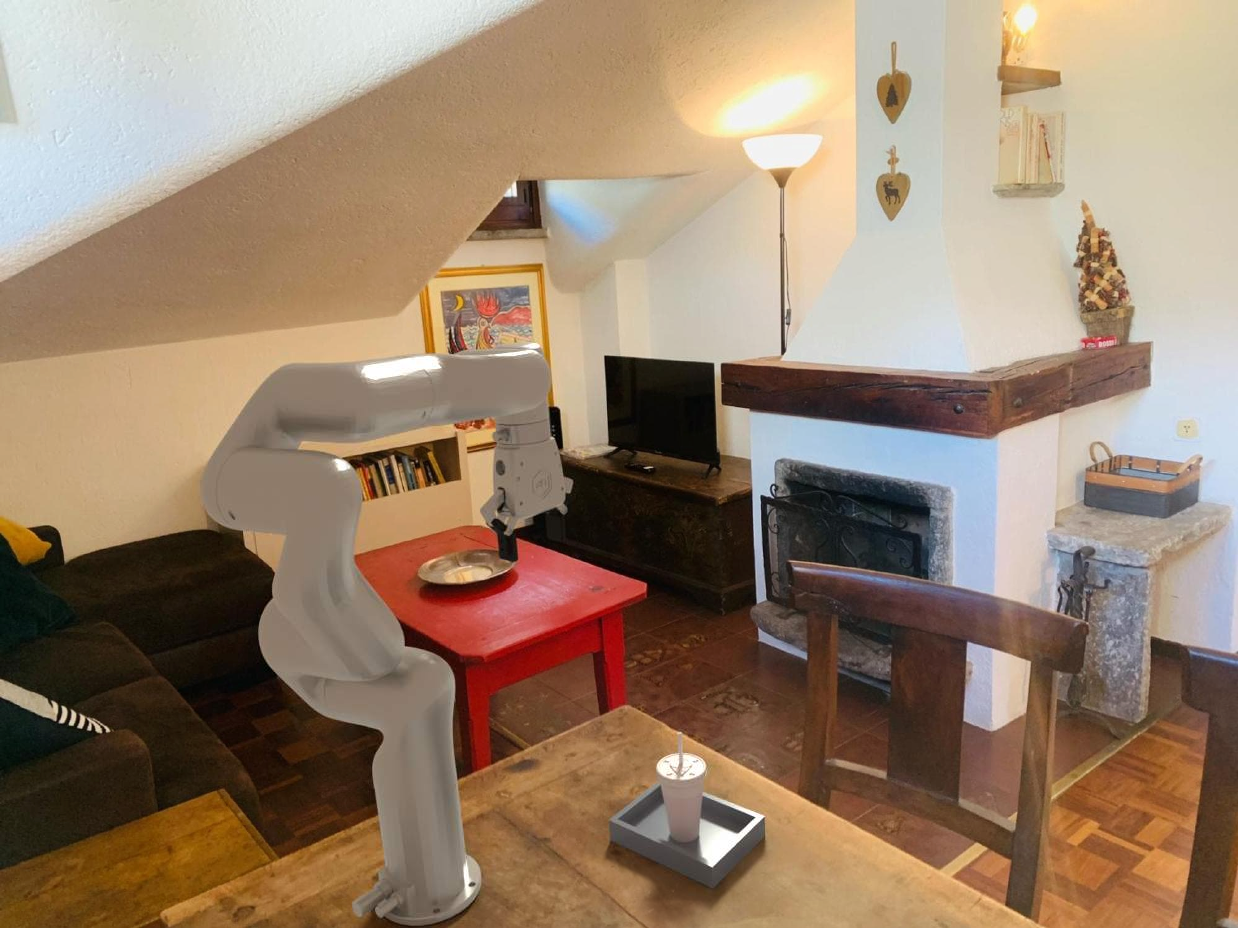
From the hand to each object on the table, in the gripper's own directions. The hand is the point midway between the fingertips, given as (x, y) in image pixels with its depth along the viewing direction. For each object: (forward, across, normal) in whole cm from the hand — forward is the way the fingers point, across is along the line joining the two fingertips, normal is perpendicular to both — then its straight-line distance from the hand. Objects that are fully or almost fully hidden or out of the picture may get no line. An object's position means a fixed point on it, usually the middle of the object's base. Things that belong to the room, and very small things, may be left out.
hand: (533, 549), depth 133 cm
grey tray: (+33, -4, -28) cm, 44 cm away
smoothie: (+32, -4, -28) cm, 43 cm away
